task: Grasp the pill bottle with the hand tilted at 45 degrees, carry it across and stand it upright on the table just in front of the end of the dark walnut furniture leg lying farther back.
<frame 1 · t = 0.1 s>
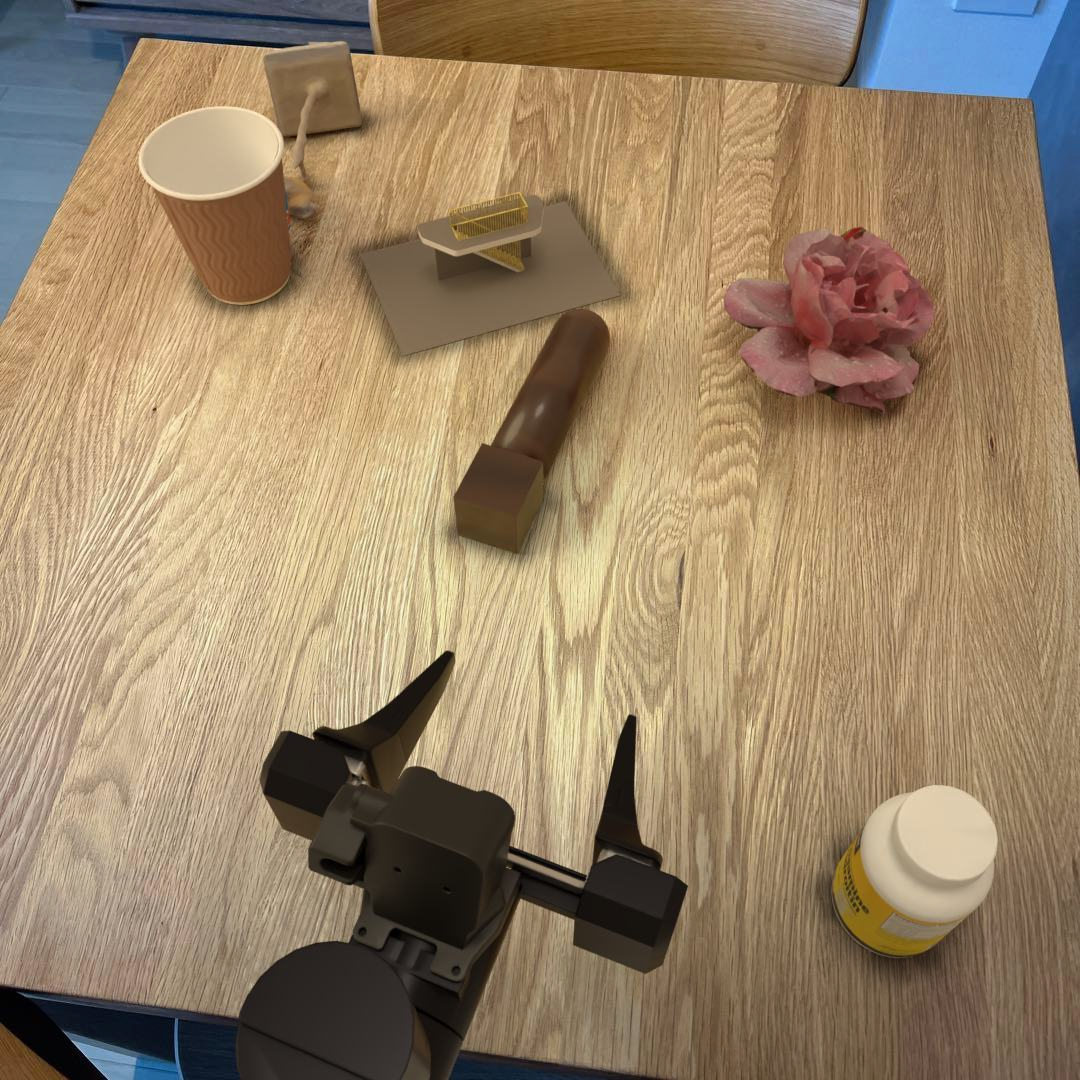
hand: (540, 686, 54), 15 cm above the table, tool horizontal, fingers open, 9 cm apart
pill bottle: (886, 902, 64), on the table
coffee cup: (248, 277, 92), on the table
flower: (819, 366, 86), on the table
decorative sculpture: (292, 170, 99), on the table
walnut leg: (536, 446, 81), on the table
platform: (488, 276, 91), on the table
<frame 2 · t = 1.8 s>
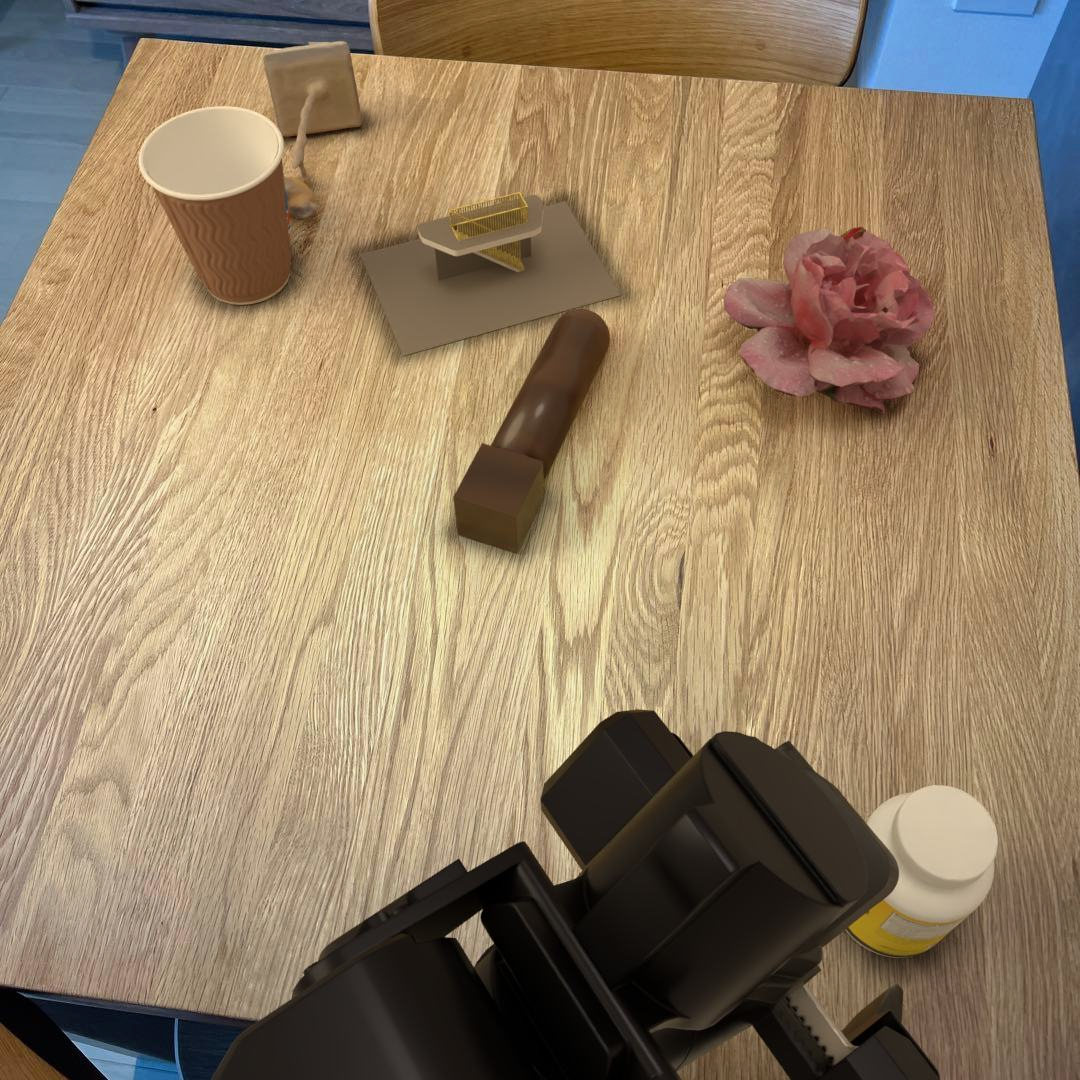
hand: (819, 900, 50), 14 cm above the table, tool tilted 45°, fingers open, 9 cm apart
nothing on the table moved.
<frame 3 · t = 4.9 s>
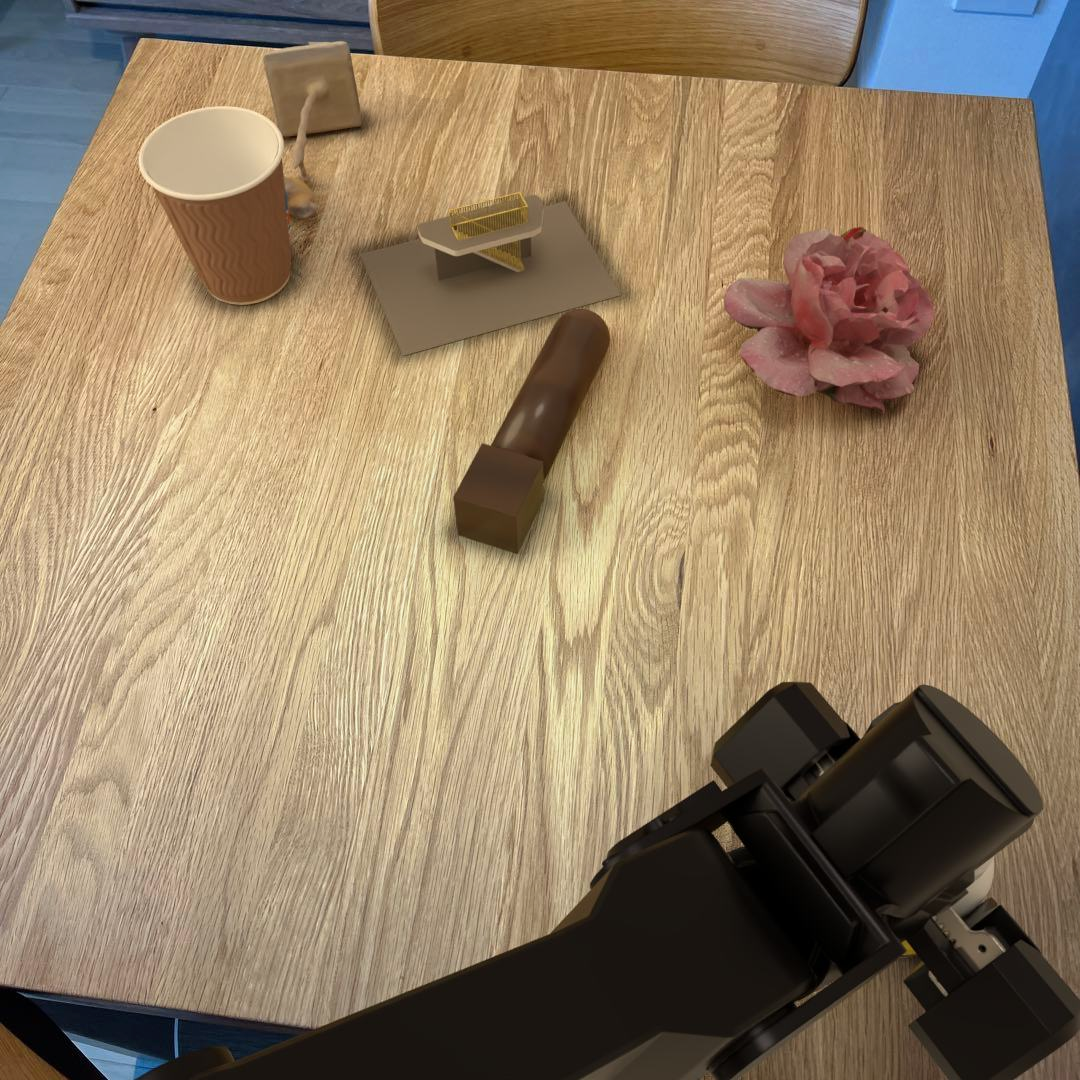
hand: (940, 849, 58), 7 cm above the table, tool tilted 45°, fingers closed on pill bottle, 6 cm apart
pill bottle: (886, 902, 64), on the table, touching gripper
everything else where it was.
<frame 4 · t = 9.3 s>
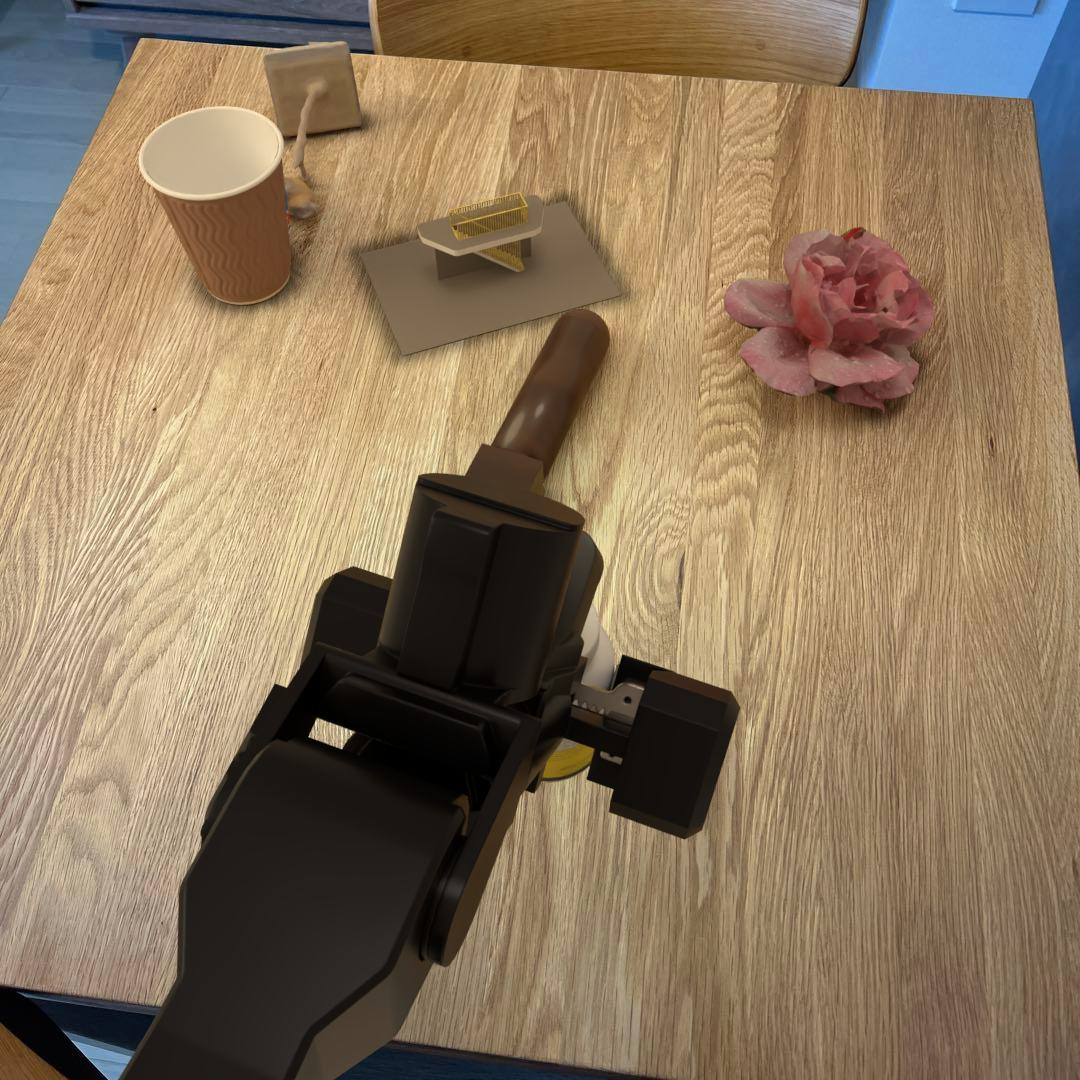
hand: (558, 652, 57), 13 cm above the table, tool tilted 45°, fingers closed on pill bottle, 6 cm apart
pill bottle: (547, 733, 62), point 7 cm above the table, touching gripper
everything else where it was.
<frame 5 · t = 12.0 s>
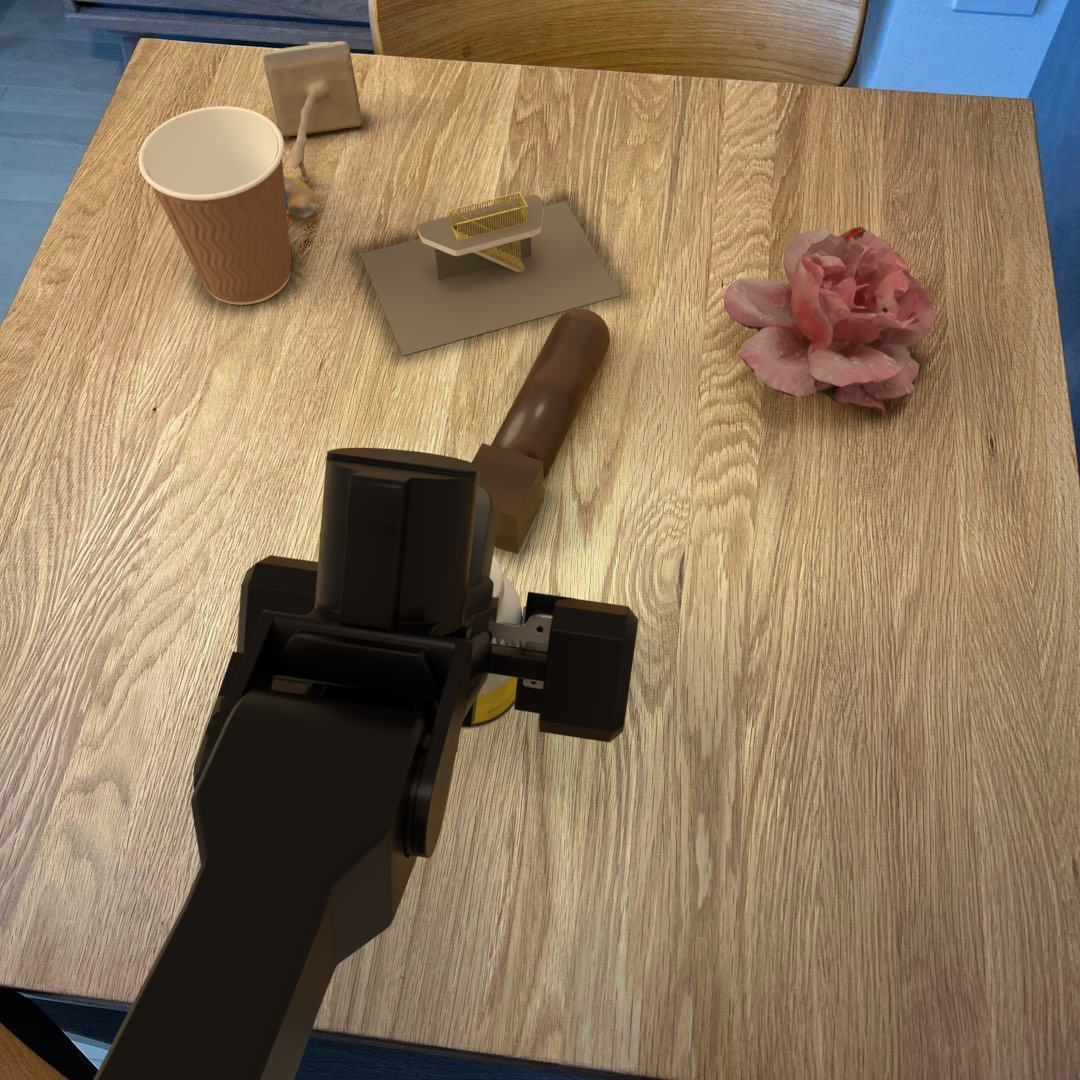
hand: (468, 606, 62), 10 cm above the table, tool tilted 45°, fingers closed on pill bottle, 6 cm apart
pill bottle: (469, 684, 67), point 3 cm above the table, touching gripper
everything else where it was.
when the fingers open (7 cm above the table, at t = 14.1 s): pill bottle stays where it is, on the table.
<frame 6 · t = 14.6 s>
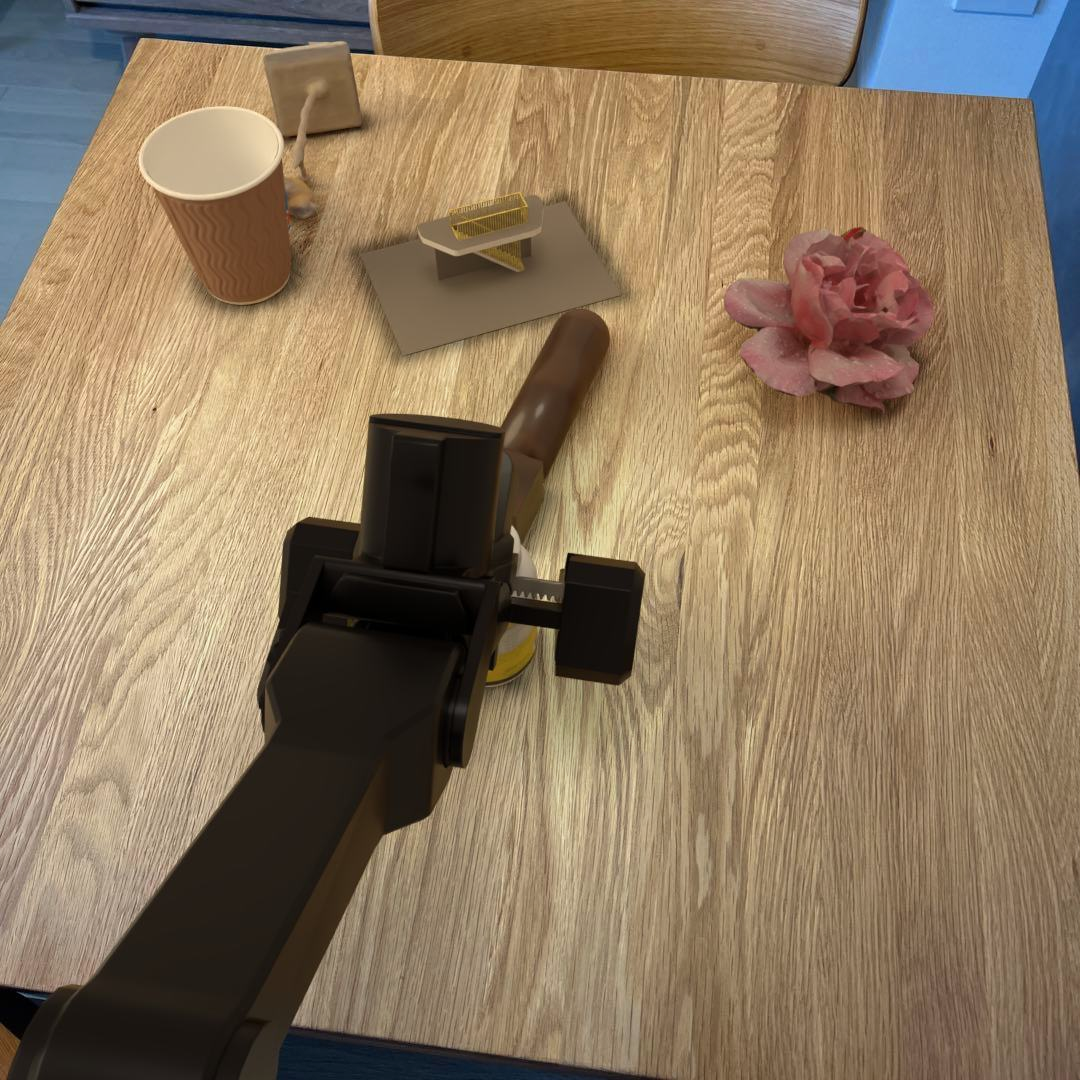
hand: (487, 566, 68), 7 cm above the table, tool tilted 45°, fingers open, 9 cm apart
pill bottle: (487, 647, 73), on the table
everything else where it was.
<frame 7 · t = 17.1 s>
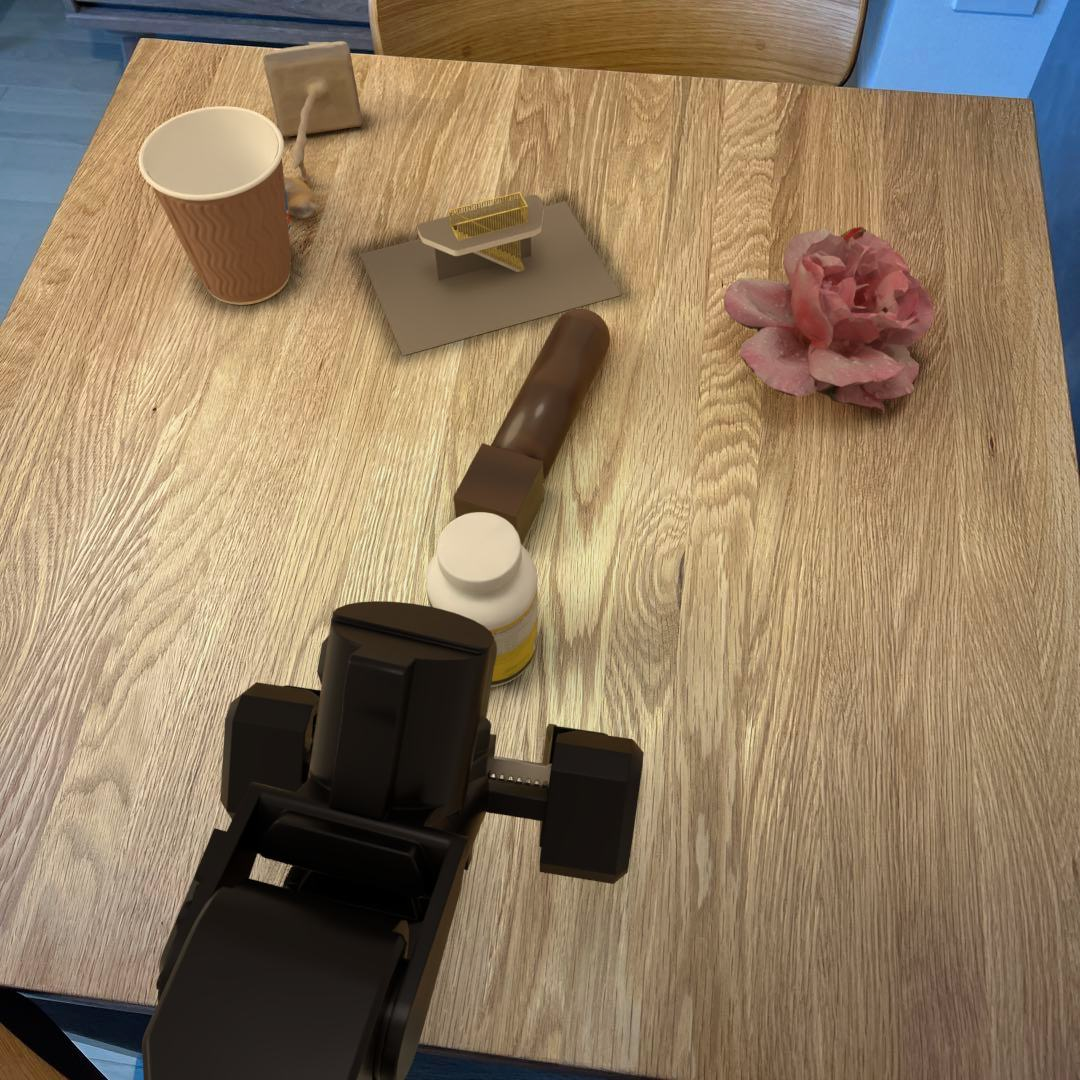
hand: (464, 719, 60), 9 cm above the table, tool tilted 45°, fingers open, 9 cm apart
nothing on the table moved.
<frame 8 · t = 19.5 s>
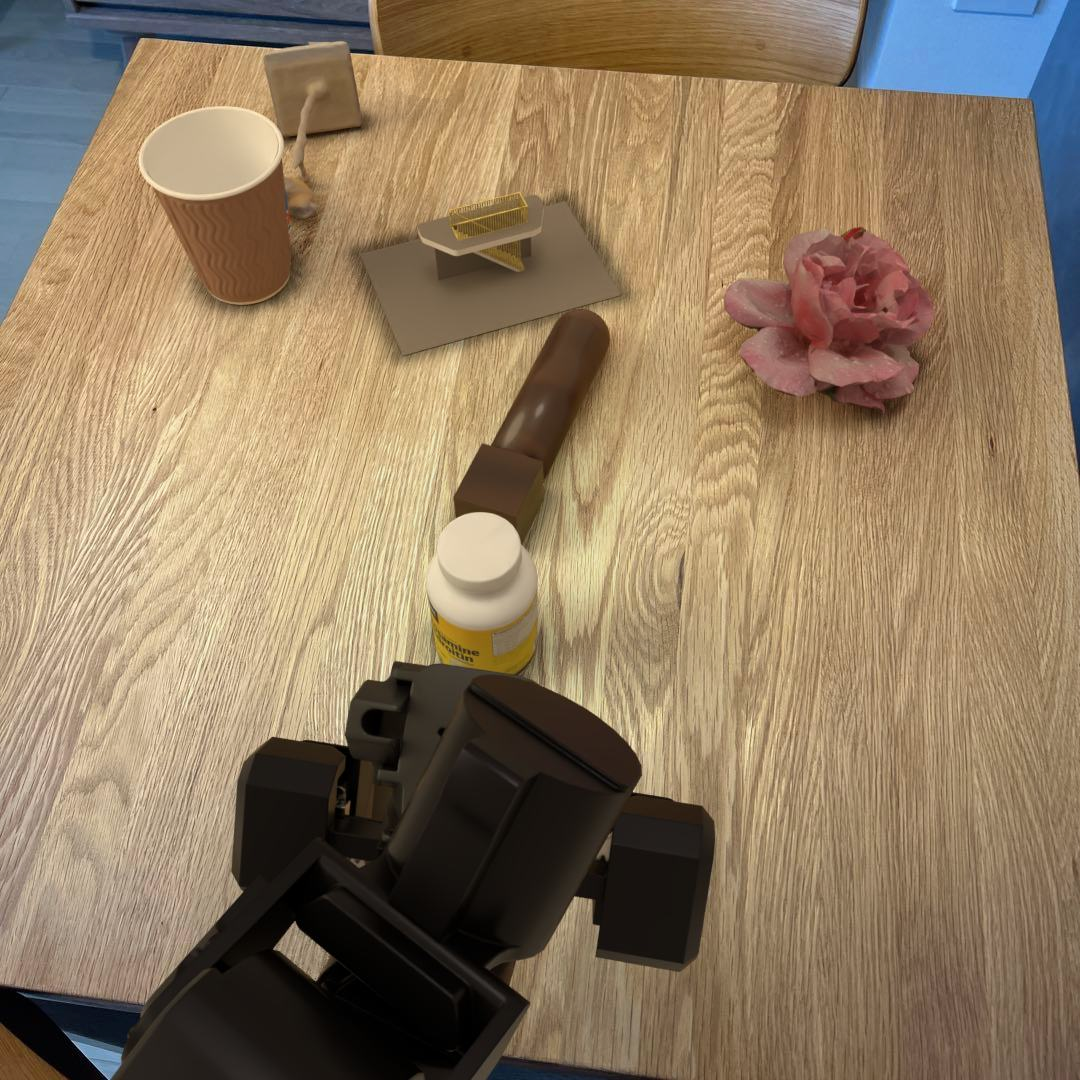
hand: (503, 771, 53), 14 cm above the table, tool tilted 45°, fingers open, 9 cm apart
nothing on the table moved.
at the end: pill bottle inside the target area on the table beside the walnut leg (0.1 cm from its centre), on the table; pill bottle tilted 0°; the gripper is holding nothing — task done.
